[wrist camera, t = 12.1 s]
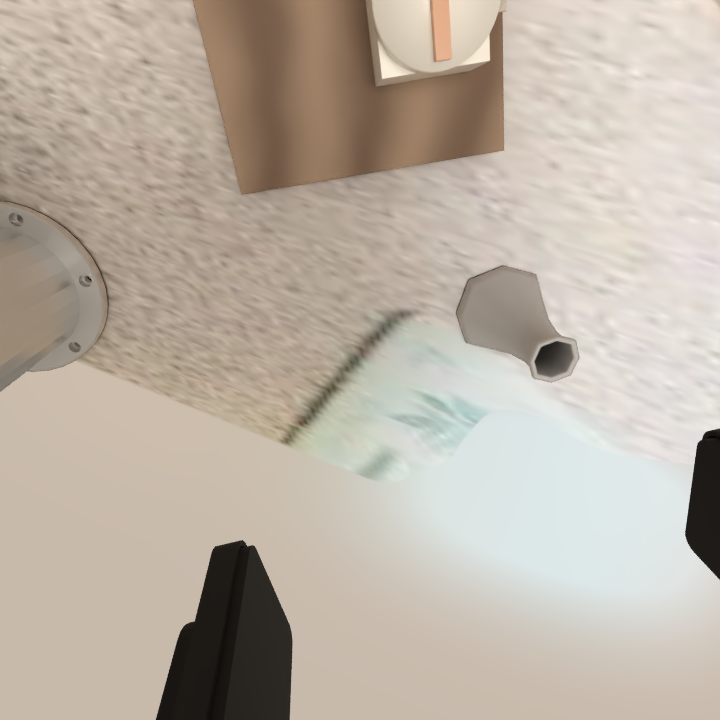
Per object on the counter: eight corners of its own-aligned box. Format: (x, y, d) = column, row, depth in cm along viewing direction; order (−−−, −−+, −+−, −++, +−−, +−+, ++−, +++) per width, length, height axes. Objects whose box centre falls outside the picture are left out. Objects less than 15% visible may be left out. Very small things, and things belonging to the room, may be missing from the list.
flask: (454, 352, 39) (494, 414, 30) (456, 268, 36) (502, 310, 27) (537, 345, 40) (601, 404, 30) (546, 261, 36) (621, 300, 27)
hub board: (245, 192, 32) (232, 200, 28) (193, -20, 27) (167, -53, 23) (498, 149, 33) (528, 150, 28) (494, -70, 27) (530, -113, 23)
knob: (357, -37, 26) (364, -85, 21) (468, -57, 26) (505, -109, 21) (372, 91, 29) (382, 79, 24) (473, 73, 29) (506, 58, 23)
